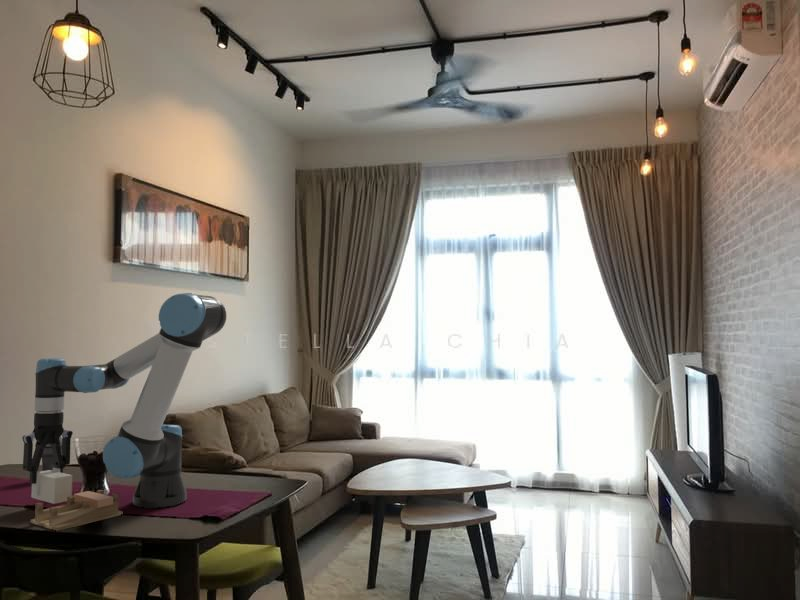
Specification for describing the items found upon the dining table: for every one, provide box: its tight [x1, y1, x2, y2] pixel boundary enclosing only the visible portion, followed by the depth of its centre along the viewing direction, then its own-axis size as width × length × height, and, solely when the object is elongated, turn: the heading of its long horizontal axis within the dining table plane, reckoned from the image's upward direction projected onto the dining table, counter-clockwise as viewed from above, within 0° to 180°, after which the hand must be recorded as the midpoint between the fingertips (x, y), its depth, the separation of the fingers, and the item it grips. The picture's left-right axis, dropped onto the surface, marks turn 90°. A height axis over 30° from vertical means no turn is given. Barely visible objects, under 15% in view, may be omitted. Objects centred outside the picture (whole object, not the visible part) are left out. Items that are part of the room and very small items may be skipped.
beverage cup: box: [41, 436, 63, 471], centre depth 222 cm, size 7×7×20 cm
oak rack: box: [30, 489, 124, 532], centre depth 175 cm, size 13×18×5 cm
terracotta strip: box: [72, 490, 113, 508], centre depth 179 cm, size 12×4×2 cm, turn 57°
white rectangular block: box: [30, 470, 73, 505], centre depth 185 cm, size 12×5×7 cm, turn 57°
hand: (45, 492), depth 186 cm, fingers closed on white rectangular block, 5 cm apart
